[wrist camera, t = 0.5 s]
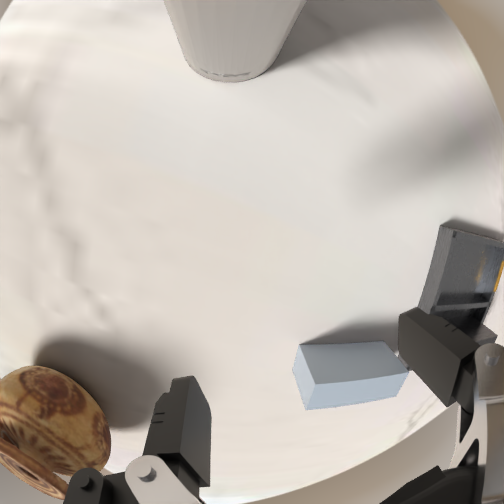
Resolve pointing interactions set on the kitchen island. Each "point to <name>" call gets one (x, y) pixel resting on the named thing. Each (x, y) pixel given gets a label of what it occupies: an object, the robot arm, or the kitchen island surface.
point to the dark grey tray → (463, 282)
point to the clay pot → (50, 428)
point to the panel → (347, 373)
